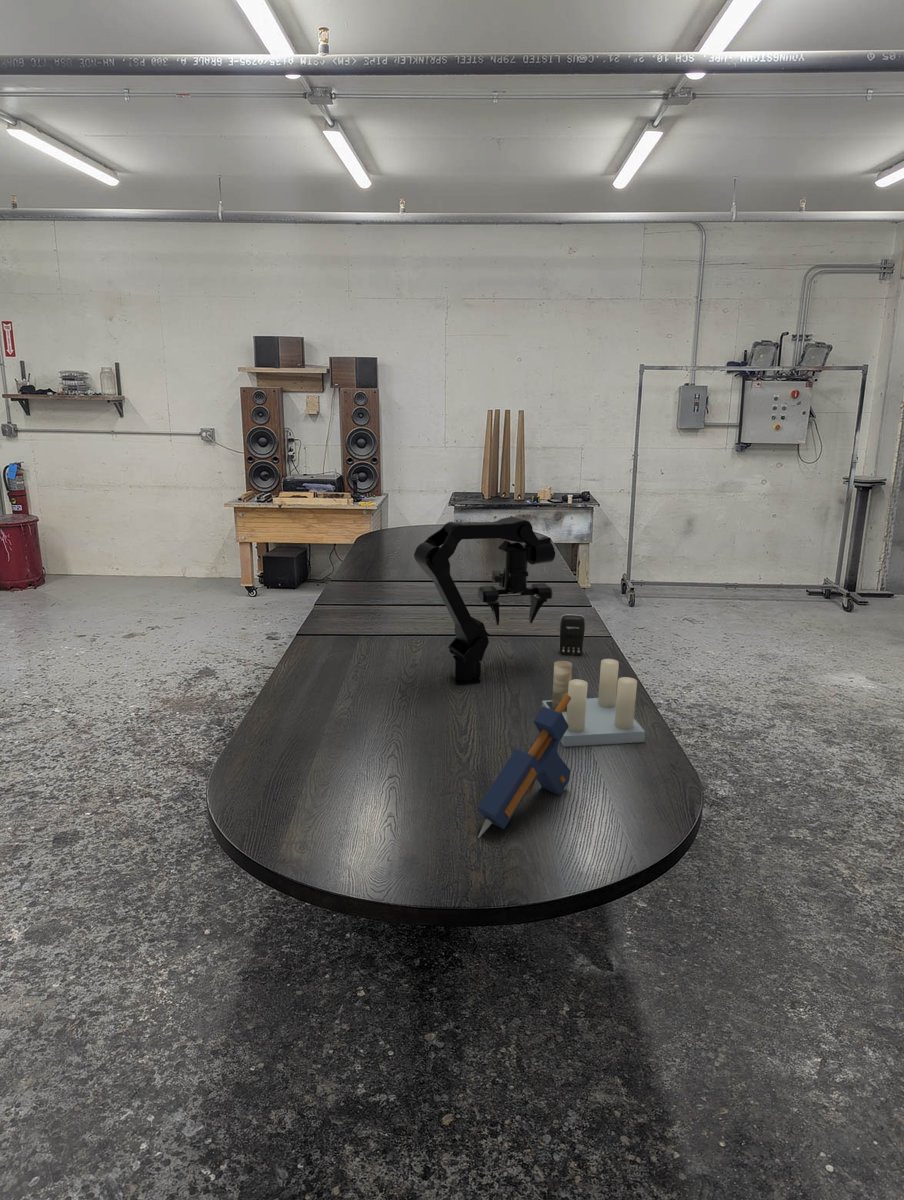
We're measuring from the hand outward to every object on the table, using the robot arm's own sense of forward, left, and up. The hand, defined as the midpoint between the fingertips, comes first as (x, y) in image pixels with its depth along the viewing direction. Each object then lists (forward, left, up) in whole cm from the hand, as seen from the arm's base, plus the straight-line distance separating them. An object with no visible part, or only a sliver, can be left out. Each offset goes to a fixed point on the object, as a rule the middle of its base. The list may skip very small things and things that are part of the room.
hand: (514, 623), depth 194 cm
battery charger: (+20, +8, -13) cm, 25 cm away
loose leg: (+2, -30, -13) cm, 32 cm away
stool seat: (+7, -36, -13) cm, 39 cm away
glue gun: (-18, -64, -13) cm, 68 cm away
